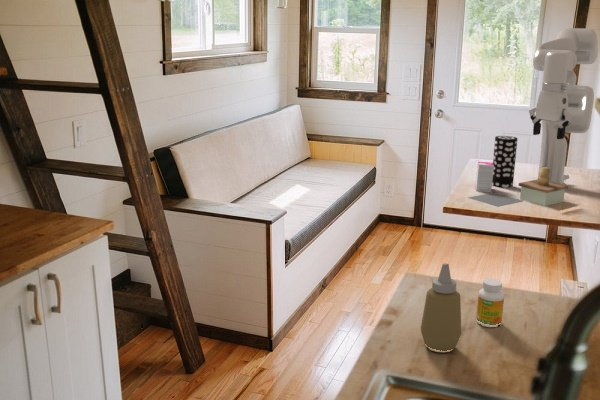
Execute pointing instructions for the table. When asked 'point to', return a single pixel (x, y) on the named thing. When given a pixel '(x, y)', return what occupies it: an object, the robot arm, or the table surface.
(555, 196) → the green open box
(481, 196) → the mat
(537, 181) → the lid
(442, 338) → the squeeze bottle
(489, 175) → the supplement box
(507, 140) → the white-spotted black cylinder
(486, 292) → the supplement bottle
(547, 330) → the table surface
